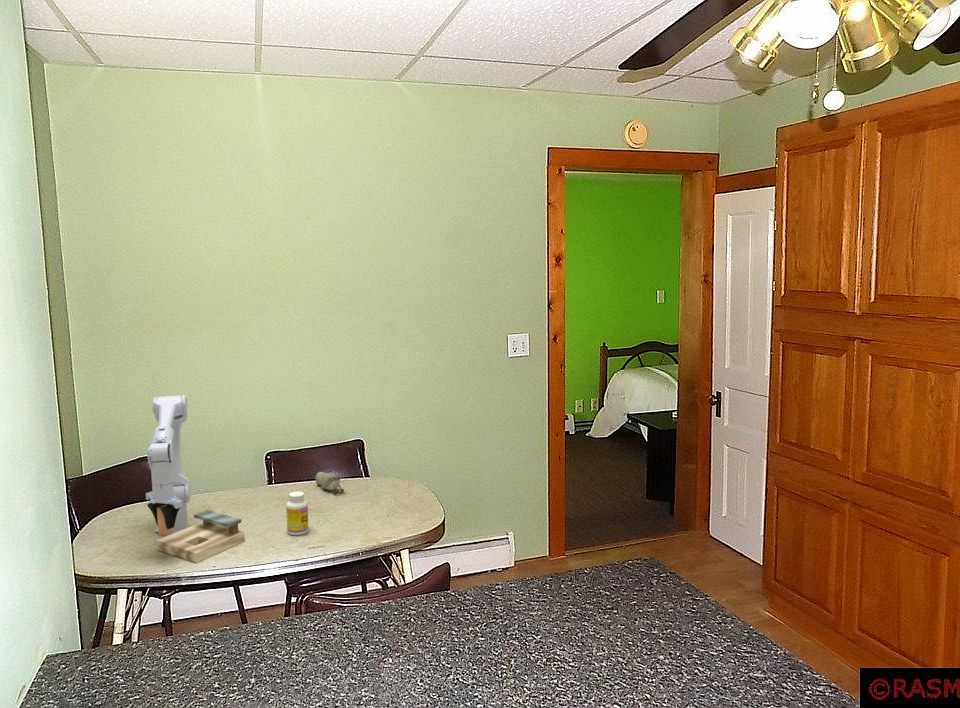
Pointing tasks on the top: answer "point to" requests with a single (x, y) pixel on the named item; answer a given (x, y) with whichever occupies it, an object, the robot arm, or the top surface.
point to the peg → (162, 523)
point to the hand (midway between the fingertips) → (165, 526)
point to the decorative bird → (328, 481)
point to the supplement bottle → (297, 514)
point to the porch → (203, 537)
